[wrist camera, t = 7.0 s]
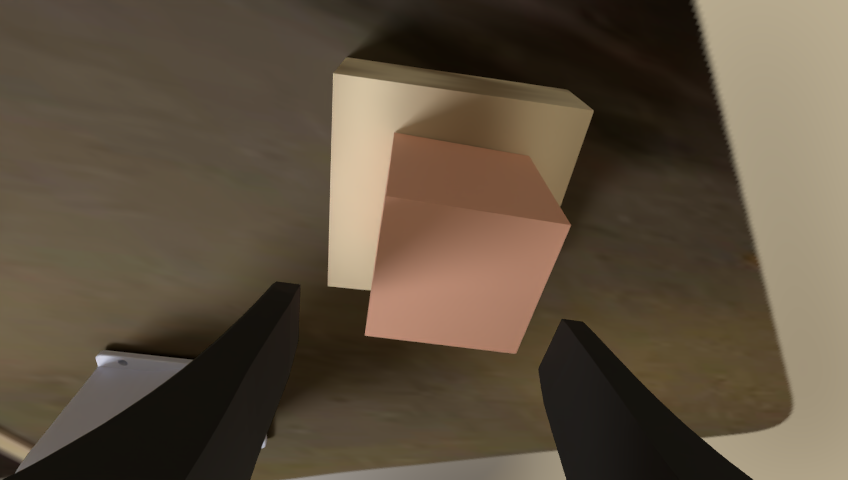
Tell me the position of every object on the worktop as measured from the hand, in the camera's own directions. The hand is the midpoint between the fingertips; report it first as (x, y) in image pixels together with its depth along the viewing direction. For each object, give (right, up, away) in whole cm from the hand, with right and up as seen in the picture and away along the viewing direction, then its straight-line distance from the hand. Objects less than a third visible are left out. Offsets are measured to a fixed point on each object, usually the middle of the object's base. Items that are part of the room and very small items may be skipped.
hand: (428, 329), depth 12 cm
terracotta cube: (+1, +4, +5) cm, 6 cm away
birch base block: (+1, +6, +8) cm, 10 cm away
